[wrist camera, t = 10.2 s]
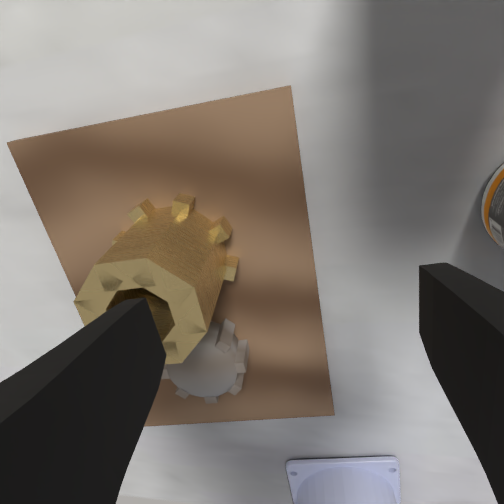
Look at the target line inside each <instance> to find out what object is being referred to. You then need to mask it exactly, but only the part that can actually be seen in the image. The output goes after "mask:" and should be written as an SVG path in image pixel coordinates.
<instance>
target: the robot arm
mask: <svg viewBox="0 0 504 504" xmlns="http://www.w3.org/2000/svg"><path fill="white" fill-rule="evenodd" d="M419 333H420V336H421V339H422V342H423V344H424V347H425V350H426V353H427V356H428V358H429V361H430V364H431V366H432V369H433V371H434V373H435V375H436V377H437V379H438V381H439V383H440V385H441V387H442V388H443V390H444V392H445V394H446V396H447V398H448V400H449V402H450V404H451V406H452V408H453V410H454V412H455V414H456V415H457V417H458V419H459V421H460V423H461V425H462V427H463V429H464V431H465V433H466V435H467V437H468V438H469V440H470V442H471V444H472V446H473V448H474V450H475V452H476V454H477V456H478V458H479V460H480V462H481V465H482V467H483V469H484V471H485V473H486V475H487V478H488V480H489V483H490V485H491V488H492V490H493V493H494V495H495V497H496V500H497V502H498V504H504V292H503V291H501V290H499V289H497V288H495V287H493V286H491V285H489V284H487V283H485V282H484V281H482V280H480V279H478V278H476V277H474V276H472V275H470V274H468V273H466V272H464V271H463V270H461V269H459V268H457V267H455V266H453V265H450V264H448V263H437V264H429V265H420V266H419ZM166 356H167V355H166V352H165V349H164V346H163V344H162V341H161V338H160V335H159V333H158V330H157V327H156V324H155V321H154V319H153V316H152V313H151V310H150V308H149V305H148V302H147V299H146V297H145V298H137V299H128V300H124V301H122V302H121V303H119V304H117V305H115V306H114V307H112V308H111V309H109V310H108V311H106V312H105V313H103V314H102V315H100V316H99V317H98V318H96V319H95V320H93V321H92V322H90V323H89V324H88V325H86V326H85V327H83V328H82V329H81V330H79V331H78V332H76V333H75V334H73V335H72V336H71V337H69V338H68V339H66V340H65V341H64V342H62V343H61V344H59V345H58V346H56V347H55V348H53V349H52V350H50V351H49V352H47V353H46V354H44V355H43V356H41V357H40V358H38V359H37V360H35V361H34V362H32V363H31V364H29V365H28V366H26V367H25V368H23V369H22V370H20V371H19V372H17V373H15V374H14V375H12V376H10V377H9V378H7V379H5V380H4V381H2V382H1V383H0V504H116V501H117V497H118V494H119V490H120V487H121V484H122V481H123V478H124V476H125V473H126V470H127V467H128V465H129V462H130V460H131V457H132V455H133V452H134V450H135V447H136V445H137V442H138V440H139V437H140V435H141V432H142V430H143V427H144V425H145V422H146V420H147V417H148V415H149V412H150V410H151V407H152V405H153V402H154V399H155V397H156V394H157V391H158V389H159V385H160V381H161V377H162V374H163V369H164V365H165V360H166ZM286 471H287V476H288V480H289V484H290V489H291V493H292V498H293V502H294V504H401V497H400V468H399V461H398V459H397V458H396V457H394V456H382V457H357V458H332V459H308V460H290V461H288V462H287V463H286Z"/></svg>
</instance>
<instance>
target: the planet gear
mask: <svg viewBox="0 0 504 504" xmlns="http://www.w3.org/2000/svg"><path fill="white" fill-rule="evenodd" d="M194 201H195V196H190V195H186V194H182V193H179V194H178V195H177V197H176V198H175V199H174V200H173V204H172V206H170V207H164V208H157V209H155V207H154V206H153V205H152V203H151V202H150V201H149V199H148V198H147V199H146V200H144V201H143V202H141V203H140V204H138V205H137V206H135V207H134V208H133V209H132V210H131V211H130V212H129V213H128V214H127V215H128V216H129V217H130V219H131V220H132V221H133V222H134V224H133V225H132V226H131V227H130V228H129V229H128V230H127V231H126V232H125V231H121V232H120V233H119V234H118V235H117V236H116V237H115V238H114V239H113V240H112V247H111V248H110V249H109V250H108V251H107V252H106V253H105V254H104V255H103V256H102V257H101V258H100V259H99V260H98V261H97V262H96V263H95V264H94V266H93V268H92V270H91V271H90V273H89V275H88V277H87V279H86V280H85V282H84V284H83V286H82V288H81V289H80V291H79V293H78V295H77V297H76V298H75V300H74V304H75V306H76V308H77V310H78V312H79V315H80V317H81V319H82V321H83V323H84V326H86V325H88V324H89V323H90V322H92V321H93V320H95V319H96V318H98V317H99V316H100V315H102V314H103V313H105V312H106V311H108V310H109V309H111V308H112V307H114V306H115V305H117V304H119V303H121V302H122V301H124V300H128V299H137V298H145V297H146V299H147V302H148V305H149V308H150V310H151V313H152V316H153V319H154V321H155V324H156V327H157V330H158V333H159V335H160V338H161V341H162V344H163V346H164V349H165V352H166V355H167V356H166V360H165V364H177V363H182V362H183V361H184V360H185V359H186V357H187V356H188V355H189V354H190V352H191V351H192V350H193V349H194V348H195V346H196V345H197V344H198V343H199V341H200V340H201V339H202V338H203V336H204V335H205V334H206V333H207V332H208V328H209V325H210V322H211V319H212V315H213V312H214V309H215V306H216V302H217V299H218V296H219V293H220V289H221V286H222V283H223V280H224V279H225V280H229V281H233V282H234V278H235V274H236V270H237V265H238V261H239V257H235V256H230V255H227V252H226V248H225V244H224V240H226V239H228V238H229V237H230V234H231V231H232V229H233V228H232V227H231V225H230V224H229V222H228V221H227V219H226V218H225V217H224V216H222V217H221V218H219V219H217V220H216V221H214V222H213V221H211V220H210V219H208V218H207V217H205V216H204V215H202V214H201V213H199V212H197V211H196V210H194V209H193V208H194Z"/></svg>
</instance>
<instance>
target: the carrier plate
mask: <svg viewBox="0 0 504 504" xmlns="http://www.w3.org/2000/svg"><path fill="white" fill-rule="evenodd" d="M7 145H8V147H9V149H10V152H11V154H12V156H13V158H14V160H15V163H16V165H17V167H18V169H19V172H20V174H21V176H22V178H23V180H24V183H25V185H26V187H27V189H28V191H29V194H30V196H31V198H32V200H33V203H34V205H35V207H36V209H37V211H38V214H39V216H40V218H41V220H42V223H43V225H44V227H45V229H46V231H47V234H48V236H49V238H50V240H51V243H52V245H53V247H54V249H55V251H56V254H57V256H58V258H59V260H60V262H61V265H62V267H63V269H64V271H65V274H66V276H67V278H68V280H69V282H70V285H71V287H72V289H73V291H74V294H75V296H76V297H77V295H78V293H79V291H80V289H81V288H82V286H83V284H84V282H85V280H86V279H87V277H88V275H89V273H90V271H91V270H92V268H93V266H94V264H95V263H96V262H97V261H98V260H99V259H100V258H101V257H102V256H103V255H104V254H105V253H106V252H107V251H108V250H109V249H110V248H111V247H112V240H113V239H114V238H115V237H116V236H117V235H118V234H119V233H120V232H121V231H125V232H126V231H127V230H128V229H129V228H130V227H131V226H132V225H133V224H134V222H133V221H132V220H131V219H130V217H129V216H128V215H127V214H128V213H129V212H130V211H131V210H132V209H133V208H134V207H135V206H137V205H138V204H140V203H141V202H143V201H144V200H146V199H147V198H148V199H149V201H150V202H151V203H152V205H153V206H154V207H155V209H157V208H164V207H170V206H172V204H173V200H174V199H175V198H176V197H177V195H178V194H179V193H182V194H186V195H190V196H195V201H194V208H193V209H194V210H196V211H197V212H199V213H201V214H202V215H204V216H205V217H207V218H208V219H210V220H211V221H213V222H214V221H216V220H217V219H219V218H221V217H222V216H224V217H225V218H226V219H227V221H228V222H229V224H230V225H231V227H232V228H233V229H232V231H231V234H230V237H229V238H228V239H226V240H224V244H225V248H226V252H227V255H230V256H235V257H239V261H238V265H237V270H236V274H235V278H234V282H233V281H229V280H225V279H224V280H223V283H222V286H221V289H220V293H219V296H218V299H217V302H216V306H215V309H214V312H213V315H212V319H211V322H210V325H209V328H208V332H207V333H206V334H205V335H204V336H203V338H202V339H201V340H200V341H199V343H198V344H197V345H196V346H195V348H194V349H193V350H192V351H191V352H190V354H189V355H188V356H187V357H186V359H185V360H184V361H183V362H182V363H177V364H165V365H164V369H163V374H162V377H161V381H160V385H159V389H158V391H157V394H156V397H155V399H154V402H153V405H152V407H151V410H150V412H149V415H148V417H147V420H146V422H145V425H144V426H160V425H177V424H194V423H212V422H229V421H246V420H263V419H280V418H297V417H314V416H331V415H334V408H333V400H332V392H331V385H330V377H329V370H328V362H327V355H326V347H325V340H324V332H323V325H322V317H321V309H320V302H319V294H318V287H317V279H316V272H315V264H314V257H313V249H312V242H311V234H310V227H309V219H308V212H307V204H306V196H305V189H304V181H303V174H302V166H301V159H300V151H299V144H298V136H297V129H296V121H295V114H294V106H293V98H292V91H291V85H290V86H285V87H280V88H275V89H270V90H265V91H260V92H255V93H250V94H245V95H240V96H235V97H230V98H225V99H220V100H215V101H210V102H205V103H200V104H195V105H190V106H185V107H180V108H175V109H170V110H165V111H160V112H154V113H149V114H144V115H139V116H134V117H129V118H124V119H119V120H114V121H109V122H104V123H99V124H94V125H89V126H84V127H79V128H74V129H69V130H64V131H59V132H54V133H49V134H44V135H39V136H34V137H29V138H24V139H19V140H15V141H11V142H7Z"/></svg>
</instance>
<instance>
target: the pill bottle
mask: <svg viewBox="0 0 504 504" xmlns="http://www.w3.org/2000/svg"><path fill="white" fill-rule="evenodd" d="M481 214H482V220H483V223H484V226H485V228H486V230H487V232H488V233H489V235H490V236H491V237H492V238H493V240H494V241H495V242H496V243H497V244H498V245H499V246H500V247H501V248H502V249H504V163H503V164H502V165H501V167H500V168H499V169H498V170H497V171H496V172H495V174H494V175H493V177H492V178H491V180H490V181H489V183H488V185H487V187H486V189H485V192H484V194H483V199H482V207H481Z"/></svg>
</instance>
